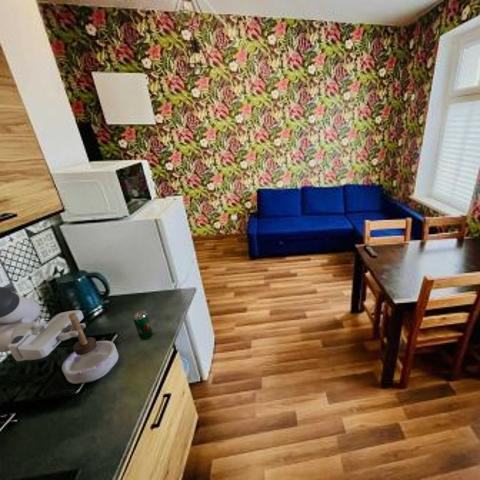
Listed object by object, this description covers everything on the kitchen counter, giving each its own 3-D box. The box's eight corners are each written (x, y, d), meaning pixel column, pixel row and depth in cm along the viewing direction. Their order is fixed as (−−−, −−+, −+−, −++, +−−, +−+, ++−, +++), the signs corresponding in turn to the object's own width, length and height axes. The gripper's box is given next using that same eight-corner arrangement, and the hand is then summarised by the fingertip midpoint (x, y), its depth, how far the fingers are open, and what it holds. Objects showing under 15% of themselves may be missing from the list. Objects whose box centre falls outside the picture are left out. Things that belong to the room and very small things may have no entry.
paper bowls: (90, 394, 90) (82, 377, 87) (58, 383, 94) (49, 367, 91) (130, 360, 104) (125, 344, 101) (101, 351, 108) (95, 336, 105)
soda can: (138, 336, 116) (130, 314, 111) (151, 330, 119) (144, 308, 115) (141, 342, 113) (134, 319, 108) (155, 336, 116) (148, 313, 112)
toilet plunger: (72, 357, 91) (56, 322, 86) (79, 345, 97) (64, 311, 91) (93, 352, 93) (79, 317, 88) (99, 340, 99) (86, 307, 93)
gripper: (59, 321, 100) (100, 317, 102) (12, 365, 82) (64, 359, 84) (53, 308, 98) (95, 304, 100) (3, 350, 79) (57, 344, 82)
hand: (81, 329), depth 92 cm, fingers closed on toilet plunger
